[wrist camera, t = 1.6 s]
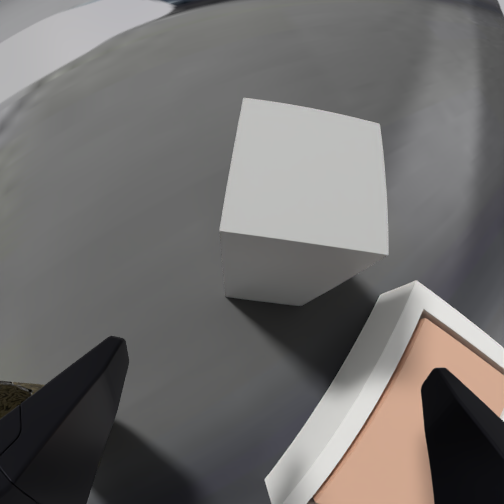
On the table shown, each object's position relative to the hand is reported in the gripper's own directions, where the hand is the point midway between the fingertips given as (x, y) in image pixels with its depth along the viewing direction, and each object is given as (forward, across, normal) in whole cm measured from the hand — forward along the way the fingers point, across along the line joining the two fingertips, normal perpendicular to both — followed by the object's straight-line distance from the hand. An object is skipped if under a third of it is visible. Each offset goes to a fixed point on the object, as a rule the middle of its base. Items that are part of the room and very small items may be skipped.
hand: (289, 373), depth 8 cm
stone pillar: (+13, 0, +4) cm, 14 cm away
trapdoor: (+5, -11, +12) cm, 17 cm away
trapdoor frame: (+5, -11, +12) cm, 17 cm away
